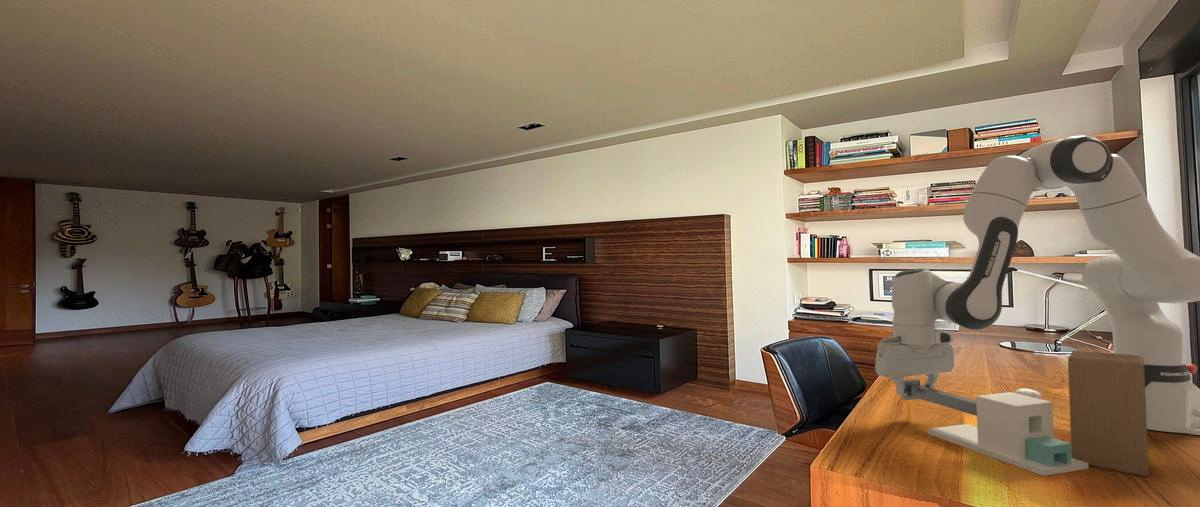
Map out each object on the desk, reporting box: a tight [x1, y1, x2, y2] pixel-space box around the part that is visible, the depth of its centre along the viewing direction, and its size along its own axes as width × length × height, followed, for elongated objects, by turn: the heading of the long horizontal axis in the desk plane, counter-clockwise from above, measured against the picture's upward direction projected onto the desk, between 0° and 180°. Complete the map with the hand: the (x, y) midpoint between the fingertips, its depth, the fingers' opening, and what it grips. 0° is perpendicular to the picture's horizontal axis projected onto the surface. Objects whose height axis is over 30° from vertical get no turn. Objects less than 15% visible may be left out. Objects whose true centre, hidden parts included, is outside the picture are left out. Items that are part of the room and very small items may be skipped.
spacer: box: [1027, 436, 1072, 467], centre depth 96 cm, size 5×4×4 cm
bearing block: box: [927, 391, 1089, 477], centre depth 105 cm, size 11×24×11 cm, turn 14°
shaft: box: [901, 378, 977, 417], centre depth 115 cm, size 5×25×5 cm, turn 14°
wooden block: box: [1067, 350, 1150, 477], centre depth 98 cm, size 10×10×20 cm
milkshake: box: [1014, 384, 1044, 399], centre depth 116 cm, size 4×5×10 cm
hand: (915, 392), depth 125 cm, fingers open, 7 cm apart
